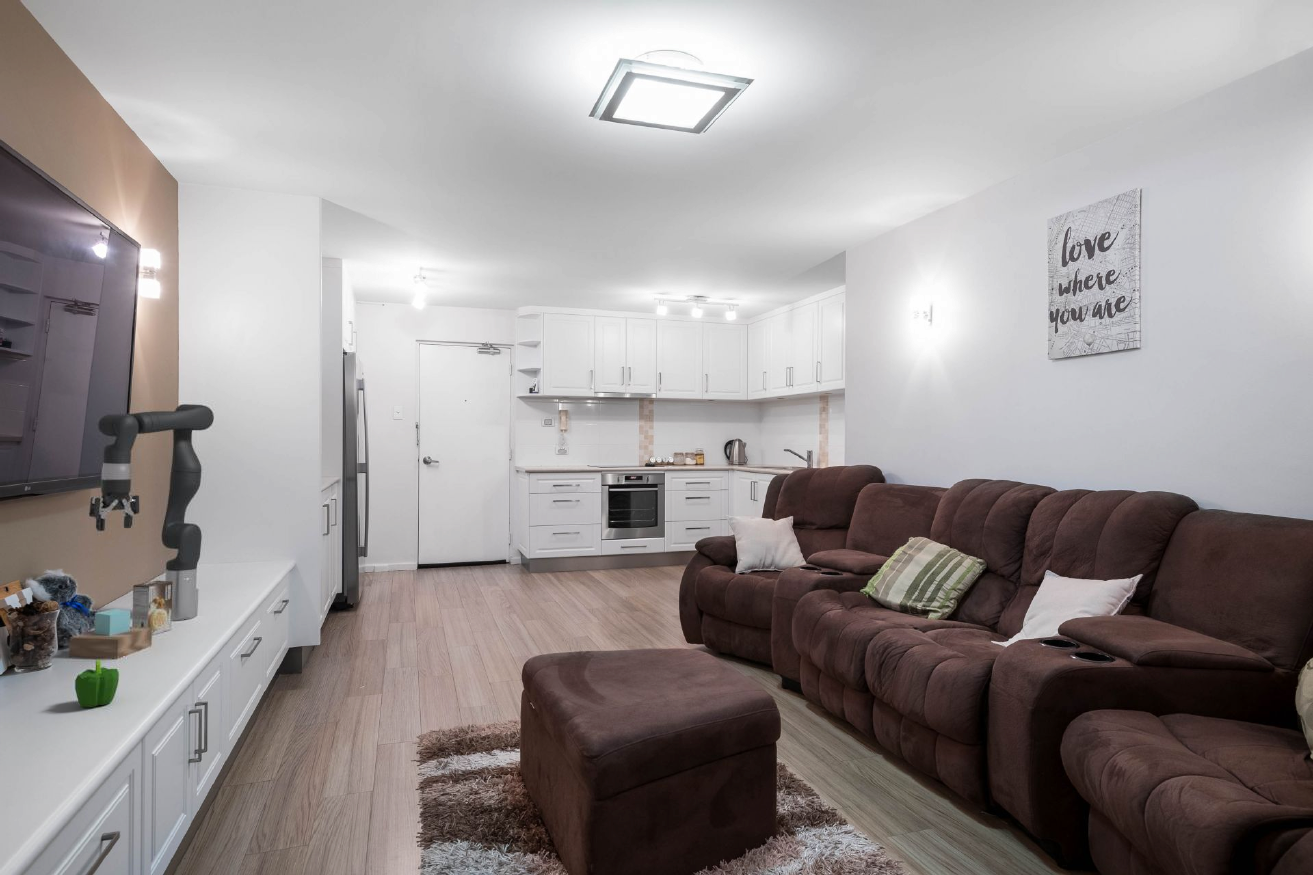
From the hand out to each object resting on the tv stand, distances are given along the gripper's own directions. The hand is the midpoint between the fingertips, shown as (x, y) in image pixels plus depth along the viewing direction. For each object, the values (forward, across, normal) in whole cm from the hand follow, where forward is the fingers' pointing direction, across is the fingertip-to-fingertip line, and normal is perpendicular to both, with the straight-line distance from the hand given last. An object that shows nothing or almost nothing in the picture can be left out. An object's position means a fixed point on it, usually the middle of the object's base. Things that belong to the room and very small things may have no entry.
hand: (114, 529), depth 233 cm
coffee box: (+34, -10, +5) cm, 36 cm away
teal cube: (+28, +10, +14) cm, 33 cm away
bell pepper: (+34, +43, +52) cm, 76 cm away
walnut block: (+34, +10, +14) cm, 39 cm away
